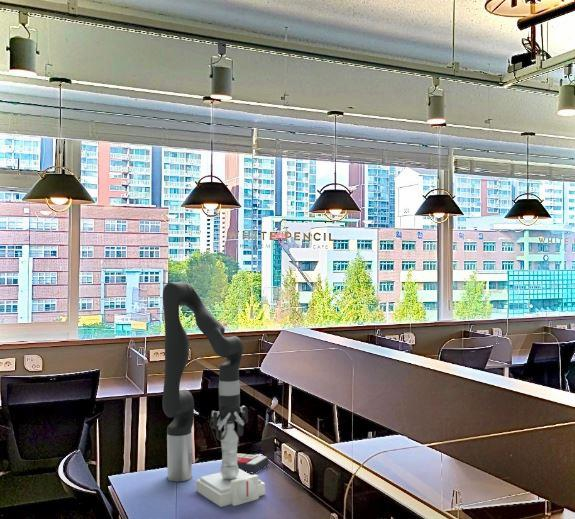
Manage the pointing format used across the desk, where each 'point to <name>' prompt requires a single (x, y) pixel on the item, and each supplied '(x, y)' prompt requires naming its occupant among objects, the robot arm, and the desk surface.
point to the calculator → (251, 462)
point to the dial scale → (231, 488)
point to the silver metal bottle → (229, 452)
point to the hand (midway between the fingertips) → (229, 437)
